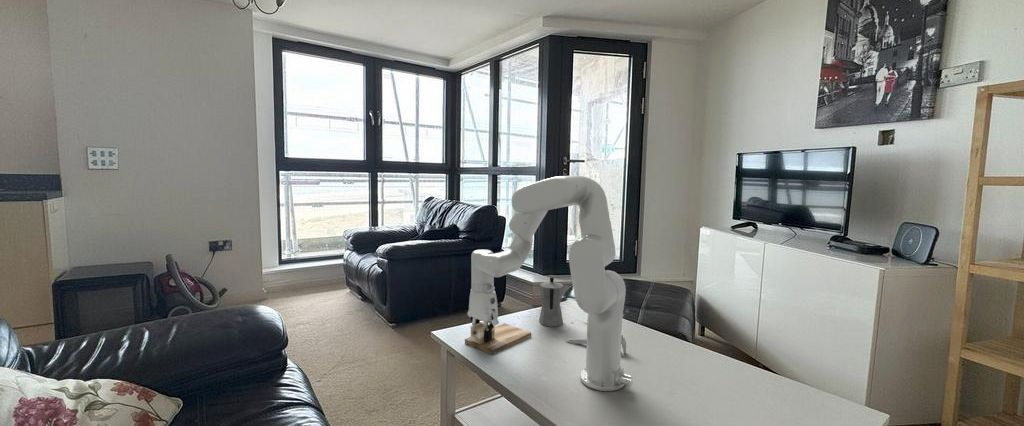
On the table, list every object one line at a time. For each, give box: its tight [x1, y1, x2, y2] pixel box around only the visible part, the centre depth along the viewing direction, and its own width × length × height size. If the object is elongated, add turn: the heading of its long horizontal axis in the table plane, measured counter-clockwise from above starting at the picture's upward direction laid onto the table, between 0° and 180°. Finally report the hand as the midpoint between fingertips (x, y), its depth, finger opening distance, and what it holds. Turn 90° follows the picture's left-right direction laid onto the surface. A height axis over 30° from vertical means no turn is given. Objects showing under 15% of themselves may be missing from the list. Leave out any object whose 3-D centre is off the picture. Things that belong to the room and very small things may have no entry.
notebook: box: [464, 322, 532, 356], centre depth 147 cm, size 13×20×2 cm, turn 138°
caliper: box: [565, 334, 627, 355], centre depth 141 cm, size 20×1×6 cm, turn 64°
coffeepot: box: [538, 276, 565, 327], centre depth 162 cm, size 15×9×18 cm, turn 175°
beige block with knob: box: [470, 321, 496, 344], centre depth 144 cm, size 4×9×5 cm, turn 138°
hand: (482, 337), depth 144 cm, fingers closed on beige block with knob, 4 cm apart
